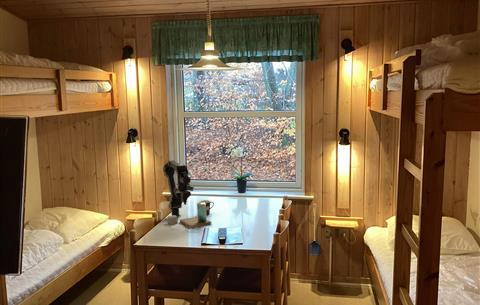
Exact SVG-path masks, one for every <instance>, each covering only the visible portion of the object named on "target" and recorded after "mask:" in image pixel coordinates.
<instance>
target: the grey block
mask: <svg viewBox="0 0 480 305" xmlns="http://www.w3.org/2000/svg"><path fill="white" fill-rule="evenodd" d="M171 215H172V214H171ZM167 216H168V218H167V219H168V220H167V222H168V224H169V223H170V224H169V225H176V223H177V224H178V217H177V216H175V215H172V216H170V215H167Z"/></svg>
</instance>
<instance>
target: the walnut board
mask: <svg viewBox="0 0 480 305" xmlns="http://www.w3.org/2000/svg"><path fill="white" fill-rule="evenodd" d="M206 220H207V221H206V222H204V223H199V222H198V215H197V216H193V217H186V218H180V220H179V223H181V224H182V225H184V226H185V227H188V228H189V229H194V228H200V227H205V226H210V225H212V221H211V220H209V219H207V218H206Z"/></svg>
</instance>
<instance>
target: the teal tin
mask: <svg viewBox="0 0 480 305" xmlns="http://www.w3.org/2000/svg"><path fill="white" fill-rule="evenodd" d="M196 207H197V216H198V222H199V223H204V222H206V221H207V220H208V219H207V215H206V203H205V202H199V201H198V202H197V203H196ZM206 219H207V220H206Z"/></svg>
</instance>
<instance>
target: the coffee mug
mask: <svg viewBox="0 0 480 305" xmlns="http://www.w3.org/2000/svg"><path fill="white" fill-rule="evenodd" d="M199 202H205V203H206V216H209V215H211V214H210V211H211V209H212V208H213V207H214V205H215V203H214V201H211V200H207V199H204V200H199V201H198V203H199ZM211 204H212V206H211Z"/></svg>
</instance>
